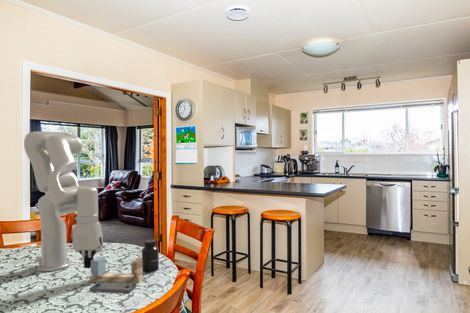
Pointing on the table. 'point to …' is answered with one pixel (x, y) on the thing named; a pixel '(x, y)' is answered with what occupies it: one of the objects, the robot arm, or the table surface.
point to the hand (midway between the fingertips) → (88, 267)
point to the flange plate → (113, 287)
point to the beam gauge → (131, 278)
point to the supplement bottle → (150, 256)
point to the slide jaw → (97, 267)
